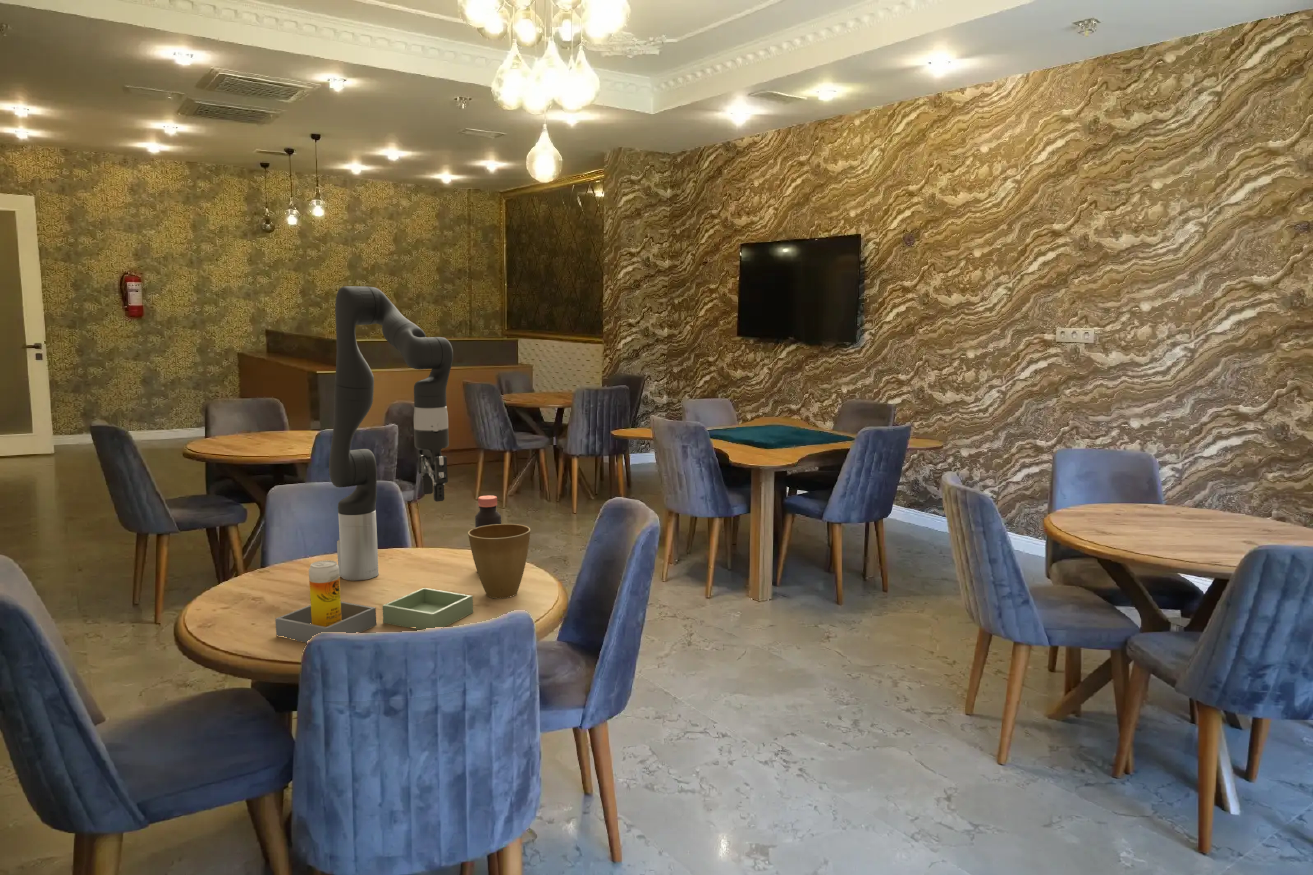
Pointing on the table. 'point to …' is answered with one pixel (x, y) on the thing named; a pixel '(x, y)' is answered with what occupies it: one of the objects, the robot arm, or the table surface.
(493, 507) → the bottle
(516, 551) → the plant pot
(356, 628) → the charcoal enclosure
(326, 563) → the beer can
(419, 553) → the table surface
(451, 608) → the olive bin
